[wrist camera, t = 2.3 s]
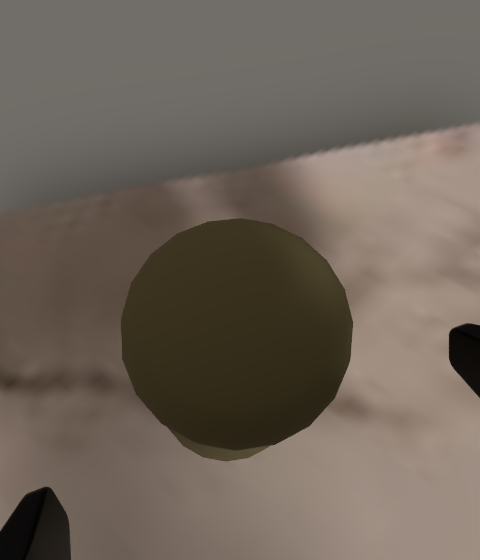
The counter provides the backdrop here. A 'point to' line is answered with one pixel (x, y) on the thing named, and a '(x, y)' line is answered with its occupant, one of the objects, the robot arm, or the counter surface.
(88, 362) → the counter surface
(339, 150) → the counter surface
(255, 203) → the counter surface
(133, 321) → the olive green peg
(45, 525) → the robot arm
